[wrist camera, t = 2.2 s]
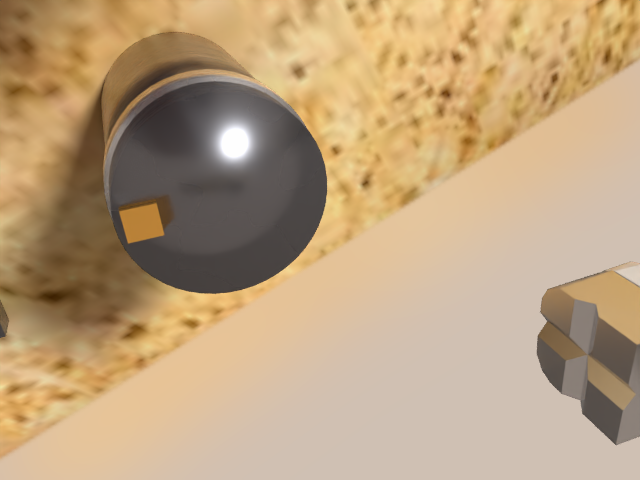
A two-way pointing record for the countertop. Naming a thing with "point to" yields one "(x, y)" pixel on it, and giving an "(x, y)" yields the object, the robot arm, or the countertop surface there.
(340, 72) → the countertop surface
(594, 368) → the robot arm
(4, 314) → the mount
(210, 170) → the lens
